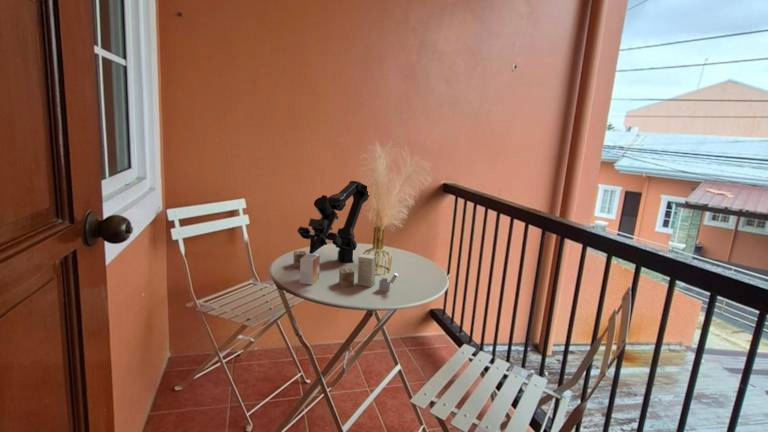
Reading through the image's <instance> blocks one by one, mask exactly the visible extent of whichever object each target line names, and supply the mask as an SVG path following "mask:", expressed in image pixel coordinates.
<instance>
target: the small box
mask: <svg viewBox="0 0 768 432" xmlns="http://www.w3.org/2000/svg"><path fill="white" fill-rule="evenodd" d="M320 263H321V254H316V253H313V254H310V253H309V252H307V253H306V255H305V256H304V257H302V258H301V259H300V268H299V284H304V285H314V283H316V282H317V281H318V280H319V279H320V266H321V265H320Z"/></svg>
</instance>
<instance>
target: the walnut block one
mask: <svg viewBox="0 0 768 432" xmlns="http://www.w3.org/2000/svg"><path fill="white" fill-rule="evenodd" d="M352 268H353V267H352ZM352 268H351V267H349V268H348V267H347V268H339V273H338V276H339V277H338V284H339V285H340V287H341V288H348V287H349V288H350V287H354V284H355V271H354V270H353V269H352Z"/></svg>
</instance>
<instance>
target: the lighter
mask: <svg viewBox="0 0 768 432" xmlns="http://www.w3.org/2000/svg"><path fill="white" fill-rule="evenodd" d="M398 276H399V273H397V272H394V274H393V276H392V277H391V279H390V280H389V278H388V277H382V278H380V279H379V284H378V291H380V292H385V293H386V292H387V293H389V292H390V291H391V284H394V282H395V280H396V279H397V278H398Z"/></svg>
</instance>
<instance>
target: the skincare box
mask: <svg viewBox="0 0 768 432" xmlns="http://www.w3.org/2000/svg"><path fill="white" fill-rule="evenodd" d="M357 260H358V261H357V285H358V286H364V287H369V288H372V286H374V285H375V281H376V255H372V254H365V253H361V254H360V255H359V256H358V259H357Z"/></svg>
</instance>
